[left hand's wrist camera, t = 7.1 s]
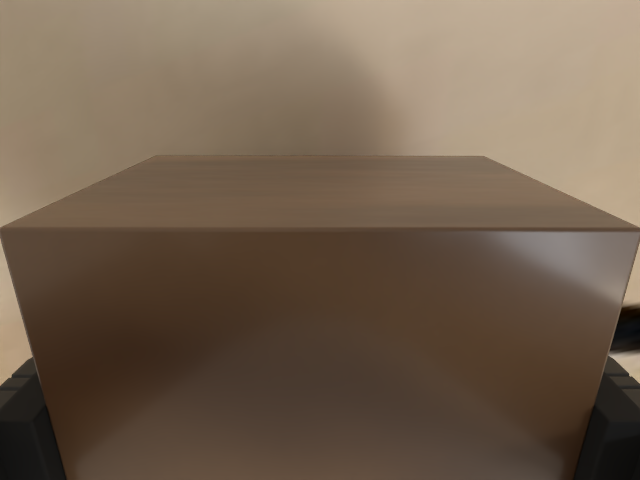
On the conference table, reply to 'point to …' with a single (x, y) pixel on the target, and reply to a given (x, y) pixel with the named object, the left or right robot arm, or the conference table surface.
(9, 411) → the left robot arm
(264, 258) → the thick board
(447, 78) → the conference table surface
